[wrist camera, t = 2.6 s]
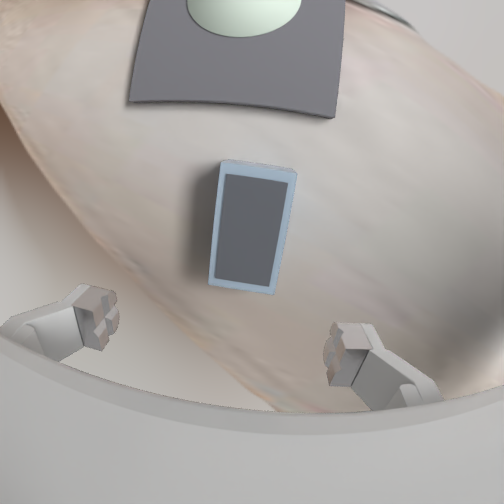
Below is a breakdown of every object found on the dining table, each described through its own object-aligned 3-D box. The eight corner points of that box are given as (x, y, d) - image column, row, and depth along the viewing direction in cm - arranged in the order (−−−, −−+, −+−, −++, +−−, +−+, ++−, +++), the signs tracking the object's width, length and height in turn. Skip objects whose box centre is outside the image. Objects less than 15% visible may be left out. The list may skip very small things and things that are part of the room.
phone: (292, 168, 21) (297, 173, 17) (273, 271, 24) (274, 295, 21) (229, 159, 21) (220, 162, 17) (217, 262, 24) (207, 285, 21)
